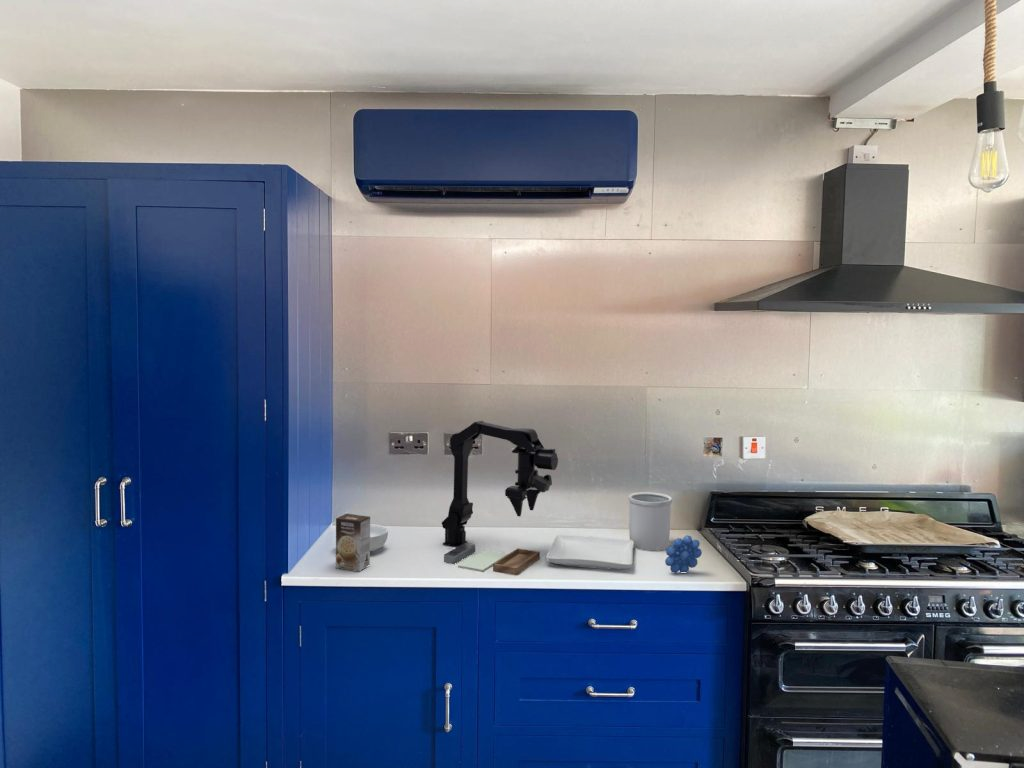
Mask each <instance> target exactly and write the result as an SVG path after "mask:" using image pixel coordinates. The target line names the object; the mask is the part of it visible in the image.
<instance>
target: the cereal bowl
mask: <svg viewBox="0 0 1024 768" xmlns="http://www.w3.org/2000/svg"><path fill="white" fill-rule="evenodd" d="M388 533H389V531H388V528H387V526H383V525H380V524H374V523H370V551H373V550H374V551H376V550H378V549H380V548H382V547H383V546H384V545H385V543H386V542H387V539H388V535H389V534H388ZM374 551H373V552H374Z"/></svg>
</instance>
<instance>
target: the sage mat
mask: <svg viewBox="0 0 1024 768" xmlns="http://www.w3.org/2000/svg"><path fill="white" fill-rule="evenodd" d="M508 554H509V553H506V552H501V551H500V552H499V551H493V550H488V549H483V550H482V551H480V552H478V553H477V554H475V555H474V556H471V557H470V558H468V559H467V560H464V561H463V562H462V563H460V564H458V566H457V567H458V568H459V567H460V568H461V569H465V568H466V570H472V571H476V572H486V571H487V570H489V569H490V568H491V567H493V564H494V563H496V562H497V561H499V560H500V559H502V558H503V557H505V556H506V555H508Z"/></svg>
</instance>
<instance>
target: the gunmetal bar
mask: <svg viewBox="0 0 1024 768" xmlns="http://www.w3.org/2000/svg"><path fill="white" fill-rule="evenodd" d="M474 552H475V553H476V544H474V543H468V542H466V543H464V544H462V545H460V546H458V547H455V548H453V549H452V550H449V551H448V552H446V553H444V554H443V563H444V562H446V563H445V564H449V563H452V564H451V565H456V564H458V563H459V561H460V562H461V561H463V560H465V559H466V558H468V557H469V555H470V556H471V555H473V554H475V553H474ZM467 556H468V557H467ZM464 558H465V559H464ZM462 559H463V560H462ZM457 562H458V563H457ZM455 563H456V564H455Z"/></svg>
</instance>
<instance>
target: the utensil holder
mask: <svg viewBox="0 0 1024 768" xmlns="http://www.w3.org/2000/svg"><path fill="white" fill-rule="evenodd" d="M628 500H629V501H628V502H629V506H628V507H629V513H628V514H629V515H628V516H629V525H628V526H629V527H628V528H629V530H628V531H629V532H628V533H629V540H632V541H634V546H633V549H636V550H640V549H641V550H642V551H645V550H650V551H649V552H657V551H656V550H661V551H664V549H665V550H667V548H668V547H670V536H671V535H670V533H671V532H670V531H671V508H672V507H671V505H672V502H673V498H672V496H670V495H669V494H665V493H661V492H651V491H649V492H648V491H641V492H633V493H630V494H629V495H628Z"/></svg>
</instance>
